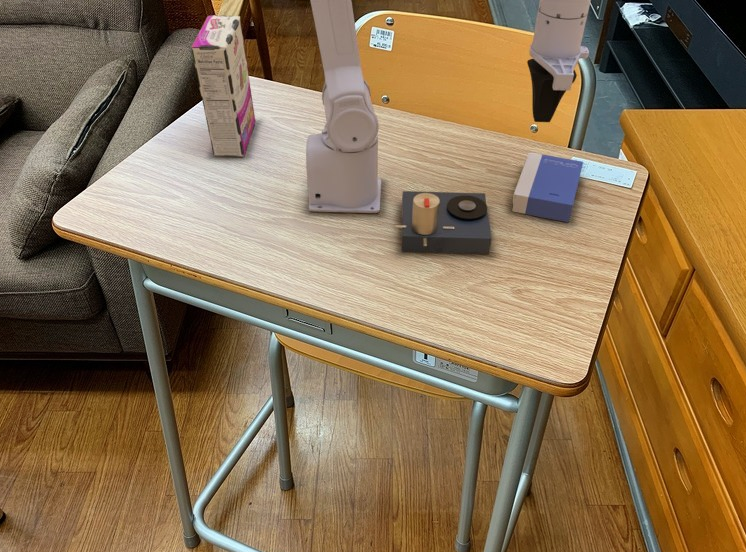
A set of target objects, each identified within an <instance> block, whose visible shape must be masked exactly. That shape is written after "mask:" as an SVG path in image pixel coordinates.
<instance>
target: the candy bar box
mask: <svg viewBox="0 0 746 552" xmlns="http://www.w3.org/2000/svg"><path fill="white" fill-rule="evenodd" d="M190 49H191V54H192V58H193V62H194V67H195V74H196V78H197V82H198V87H199V91H200V96H201V101H202V105H203V111H204V115H205V116H204V117H205V120H206V125H207V131H208V135H209V139H210V144H211V150H212V154H213V156H214V157H221V158H225V157H227V158H229V157H231V158H232V157H233V158H235V157H236V158H244V157H245V156H246V153H247V149H248V145H249V143H250V140H251V137H252V133H253V130H254V128H255V124H256V120H257V119H256V115H255V109H254V102H253V101H254V100H253V97H252V88H251V81H250V76H249V69H248V68H249V67H248V62H247V56H246V48H245V41H244V36H243V29H242V23H241V16H240V15H216V14H214V15H207V17H206V19H205V21H204V22H203V24H202V26H201V28H200V30H199V32H198V34H197V35H196V37H195V39H194V41H193V43H192V45H191V47H190Z"/></svg>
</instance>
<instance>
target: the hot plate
mask: <svg viewBox="0 0 746 552" xmlns="http://www.w3.org/2000/svg"><path fill="white" fill-rule="evenodd" d="M421 193H430V194H434V195H436V196H437V197H438V198H439V200H440V205H439V216H438V228H437V231H436V232H435V233H433V234H430V235H421V234H418V233H416V232H414V231H413V229H412V213H413V199H414V197H415V196H416V195H418V194H421ZM401 195H402V196H401V197H402V198H401V224H400V225H399V224H395V225H394V228H395V229H401V245H400V246H401V247H400V248H401V253H425V254H428V253H429V254H430V253H433V254H465V255H466V254H467V255H469V254H470V255H489V254H490V250H491V245H492V232H491V231H492V230H491V226H490V224H491V223H490V218H489V212H488V210H487V213H486V215H485V216H484V217H483V218H481V219H479V220H476V221H461V220H458V219H455V218H453V217H452V216H450V215H449V213H448V212H447V203H448V201H449V200H450V199H452V198H454V197H456V196H462V195H468V196H474V197H477V198H479V199H481V200H483V201H484V202H485V203H486V205H487V204H488V203H487V197H486V193H485V192H451V191H449V192H448V191H416V190H415V191H412V190H402V194H401ZM487 206H488V205H487Z"/></svg>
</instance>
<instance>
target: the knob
mask: <svg viewBox="0 0 746 552" xmlns="http://www.w3.org/2000/svg"><path fill="white" fill-rule="evenodd" d="M439 205H440V200H439V198H438V197H437V196H436V195H434V194H430V193H421V194H418V195H416V196H415V197H414V199H413V213H412V229H413V231H414V232H416V233H418V234H421V235H430V234H433V233H435V232H436V231H437V228H438V216H439Z"/></svg>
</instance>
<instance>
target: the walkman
mask: <svg viewBox="0 0 746 552" xmlns="http://www.w3.org/2000/svg"><path fill="white" fill-rule="evenodd" d="M583 166H584V161H581V160H577V159H569V158H564V157H559V156H553V155H549V154H548V155H547V154H543V153H536V152H532V151H529V152H528V153H527V156H526V159H525V161H524V164H523V166H522V167H523V168H522V169H521V173H520V176H519V179H518V182H517V184H516V187H515V190H514V193H513V197H512V204H513V205H512V211H511V212H514V213H519V214H524V215H527V216H534V217H538V218H543V219H549V220H553V221H558V222H565V223H569V222H570V218H571V215H572V212H573V207H574V202H575V198H576V194H577V190H578V185H579V182H580V178H581V175H582V171H583V170H582V168H583Z"/></svg>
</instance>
